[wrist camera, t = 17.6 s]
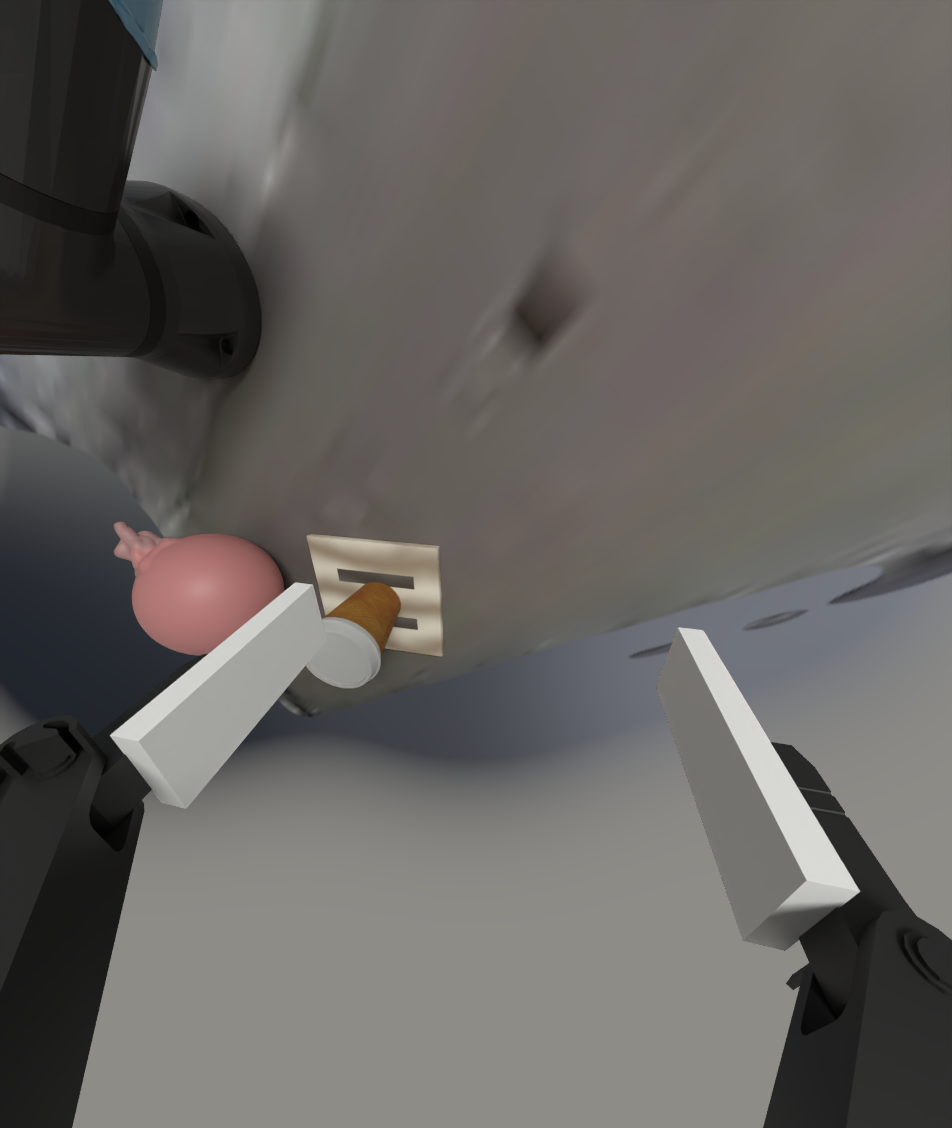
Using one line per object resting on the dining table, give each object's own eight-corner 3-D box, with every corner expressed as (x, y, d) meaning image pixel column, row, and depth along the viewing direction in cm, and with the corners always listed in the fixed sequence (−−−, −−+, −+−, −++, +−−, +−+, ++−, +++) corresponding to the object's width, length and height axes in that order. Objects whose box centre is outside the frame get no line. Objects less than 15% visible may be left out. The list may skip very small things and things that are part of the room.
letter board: (310, 534, 47) (306, 536, 47) (439, 546, 44) (437, 548, 44) (334, 637, 56) (331, 640, 55) (443, 652, 53) (442, 656, 52)
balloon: (221, 465, 45) (83, 504, 31) (328, 584, 51) (250, 658, 38) (165, 521, 51) (30, 573, 38) (266, 621, 57) (181, 696, 44)
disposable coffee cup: (343, 611, 52) (291, 671, 41) (354, 560, 47) (300, 613, 37) (402, 636, 52) (366, 702, 42) (420, 588, 47) (384, 649, 37)
